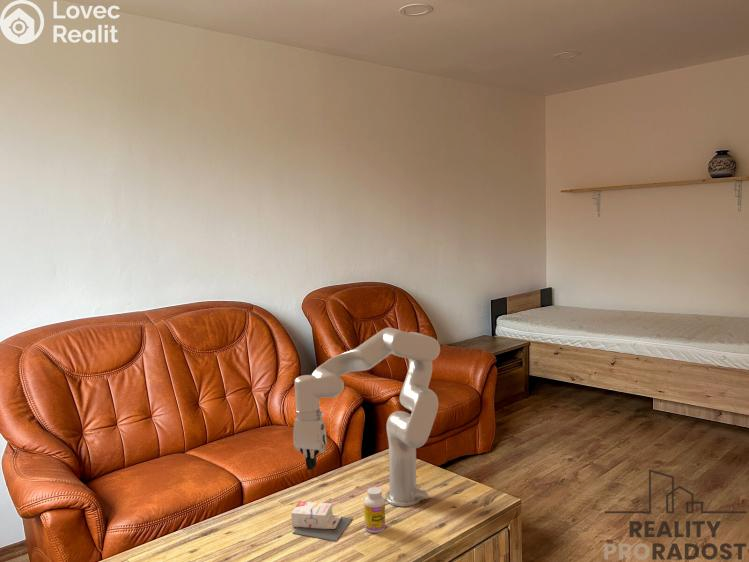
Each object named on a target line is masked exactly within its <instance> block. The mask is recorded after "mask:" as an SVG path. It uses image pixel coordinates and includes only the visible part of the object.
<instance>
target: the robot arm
mask: <svg viewBox="0 0 749 562" xmlns="http://www.w3.org/2000/svg"><path fill="white" fill-rule="evenodd" d="M440 353H441V345H440V342H439V341H438V340H437V339H436V338H434V337H432V336H429V335H425V334H423V333H420V332H416V331H409V332H408V331H404V330H400V329H397V328H394V327H385V328H383V329H381V330H380V331H378V332H376V333H375V334H374V335H372V336H371V337H369V338H368V339H367V340H366V341H364V342H363V343H361V344H359V345H358V346H357V347H355V348H353V349H350V350H347V351H345V352H343V353H340V354H337V355H335V356H333V357H331V358H329V359H327V360H325V362H324V363H321V364H320V365H319V366H318V367H316V368H315V369H314V370H313V372H312V373H311V374H304V375H300V376H298V377H296V378H295V379H294V395H295V396H294V397H295V413H296V417H295V418H294V423H293V445H294V450H295V451H298V452H300V453H301V454H302V455H303V458H305V466H306V470H307V471H309V470H310V471H313V470H314V469H315V468H316V467H317V455H319V454H324V453H326V452H327V448H326V445H327V444H328V441H327V431H326V426H325V422H324V418H323V416H324V411H321V408H320V398H321V399H323V398H335V397H337V396H339V395H341V393H343V390H344V389H345V388H344V387H345V383H344V380H343V379H342V377H341V376H344V375H346V374H349V373H352V372H363V371H369V370H371V369H372V368H374V367H375V366H376V365H378V364H379V363H380V362H381V361H383V360H385V359H386V358H387V357H389V356H391V355H393V356H396V357H399V358H404V359H407V360H408V370H407V373H406V376H405V379H404V382H403V385H402V388H401V390H400V394H399V403H400V404H401V406H403V408H405V409H407V410H408V411H410V412H411V413H408V412H407V411H403V410H397V411H393V412H392V413H391V414H390V415H389V416H388V418H387V420H386V435H387V441H388V449H389V450H388V454H389V455H388V458H389V460H388V461H389V464H388V465H389V467H388V468H389V469H388V471H389V472H388V473H389V475H388V476H389V478H388V479H389V490H388V491H387V492H386V493H385V498H384V499H385V502H387V503H389V504H390V505H392V506H396V507H410V506H415V505H416V504H418V503H419V502H420V501H421V499H425V500H428V497H429V494H428V492H427V490H426V489H420V488H419V484H417V449H419V448H421V447H423V446H424V445H425V443H427V441H428V439H429V436H430V434H431V431H432V429H433V426H434V422H435V420H436V416H437V413H438V410H439V399H438V396H437V394H436V393H435V392H434V391H433V390H432V389H431V388H429V385H430V382H431V378H432V374H433V362H432V361H434V360H436V359H437V358H438V357H439V355H440Z"/></svg>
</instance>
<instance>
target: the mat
mask: <svg viewBox="0 0 749 562" xmlns="http://www.w3.org/2000/svg"><path fill="white" fill-rule="evenodd" d="M332 517H341V518H340V520H339V522H338V524H337V526H336V528H335V529H319V528H307V527H296V528H295V530H293V532H292V534H293V535H297V534H298V536H305V537H308V538H309V537H310V538H313V539H319V540H325V541H331V542H334V543H335V542H337V541H338V540H339V538H340V537H341V536H340V535H342V534H343V533H344V532H345V530H346V529H347V528H348V526H349V525H350V523H351V522H352V521H351V520H353V518H352V517H345V516H340V515H334V514H332ZM334 523H336V522H335V521H334V522H333V524H332V525H334Z"/></svg>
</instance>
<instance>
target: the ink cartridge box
mask: <svg viewBox="0 0 749 562" xmlns="http://www.w3.org/2000/svg"><path fill="white" fill-rule="evenodd" d="M290 513H291V527H293V528H294V527H296V528H297V527H307V528H319V529H335V528H336V526H337V524H338V522H339V520H340V518H341V517H342V516H340V517H332V515H333V503H330V502H329V503H328V502H326V503H325V502H313V501H303V500H302V501H301V500H299V501H298V502H297V504H296V506H295V507H294V508H293V509H292V512H290ZM334 521H335V522H336V523H334V525H332V524H333V522H334Z"/></svg>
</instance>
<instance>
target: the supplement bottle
mask: <svg viewBox="0 0 749 562" xmlns="http://www.w3.org/2000/svg"><path fill="white" fill-rule="evenodd" d="M366 491H367V492H366V494H367V496H366V497H365V499H364V501H363V502H364V507H363V508H364V510H363V511H364V513H363V514H364V530H365V531H367V532H368V533H371V534H378V533H381V532H384V530H385V528H386V499H385V498H384V496H383V490H382V489H381V488H380V487H378V486H377V487H376V486H375V487H370V488H368V489H367V490H366Z"/></svg>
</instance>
